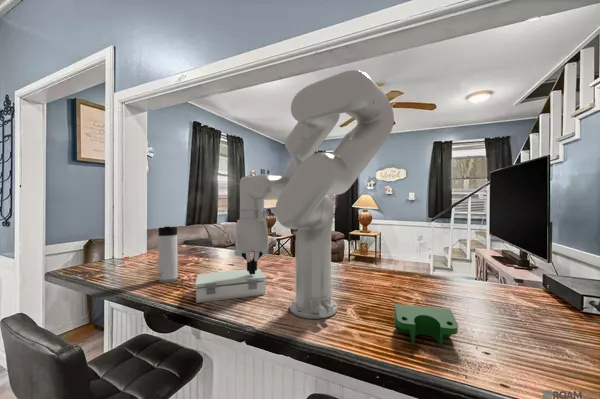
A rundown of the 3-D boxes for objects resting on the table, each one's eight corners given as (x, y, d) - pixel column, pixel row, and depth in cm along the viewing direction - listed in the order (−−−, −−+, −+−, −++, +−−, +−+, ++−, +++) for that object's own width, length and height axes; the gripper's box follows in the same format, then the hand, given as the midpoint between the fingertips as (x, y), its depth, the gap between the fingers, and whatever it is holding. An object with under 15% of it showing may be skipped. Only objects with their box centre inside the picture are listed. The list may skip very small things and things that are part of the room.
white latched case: (266, 295, 79) (266, 282, 79) (195, 303, 73) (195, 290, 73) (259, 282, 91) (258, 271, 91) (198, 289, 85) (198, 277, 85)
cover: (267, 281, 79) (266, 277, 79) (194, 288, 72) (194, 285, 72) (259, 270, 92) (259, 268, 92) (197, 276, 85) (197, 273, 85)
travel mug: (157, 284, 91) (156, 227, 91) (159, 278, 97) (159, 225, 97) (176, 282, 93) (176, 226, 93) (178, 276, 99) (177, 224, 99)
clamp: (406, 361, 54) (389, 324, 53) (403, 339, 59) (387, 306, 58) (469, 349, 50) (451, 309, 49) (458, 327, 55) (442, 291, 54)
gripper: (272, 214, 88) (272, 268, 88) (226, 215, 83) (226, 272, 83) (277, 215, 81) (277, 274, 81) (228, 216, 76) (228, 279, 76)
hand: (251, 273), depth 82 cm, fingers closed
